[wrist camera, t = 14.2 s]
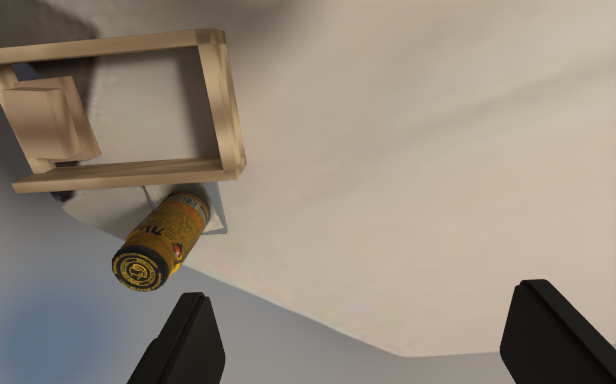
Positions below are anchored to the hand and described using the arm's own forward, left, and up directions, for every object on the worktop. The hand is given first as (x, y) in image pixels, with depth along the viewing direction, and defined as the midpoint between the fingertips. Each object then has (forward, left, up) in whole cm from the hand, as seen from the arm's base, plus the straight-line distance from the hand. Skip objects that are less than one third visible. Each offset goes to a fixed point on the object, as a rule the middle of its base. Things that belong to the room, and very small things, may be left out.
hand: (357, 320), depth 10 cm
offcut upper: (-3, -30, -26) cm, 40 cm away
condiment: (+9, -19, -28) cm, 35 cm away
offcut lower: (-3, -31, -29) cm, 42 cm away
